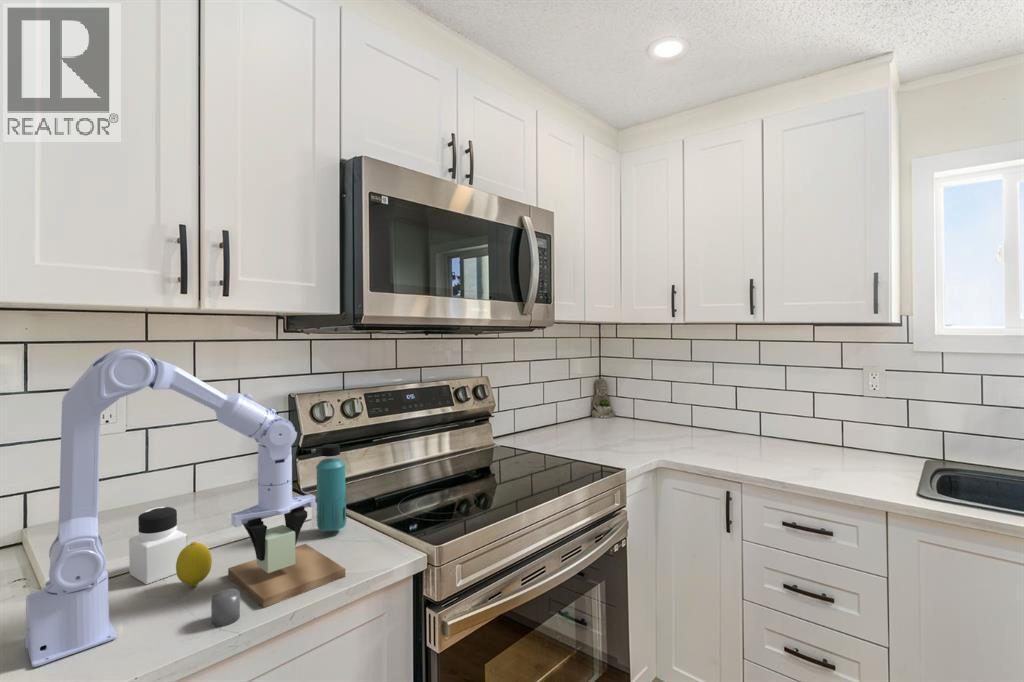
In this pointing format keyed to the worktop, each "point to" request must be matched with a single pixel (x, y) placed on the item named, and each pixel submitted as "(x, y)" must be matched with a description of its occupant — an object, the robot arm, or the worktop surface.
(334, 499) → the beverage bottle
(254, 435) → the robot arm
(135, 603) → the worktop surface
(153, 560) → the medicine bottle
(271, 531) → the sage block
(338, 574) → the walnut board
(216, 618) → the charcoal canister
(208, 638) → the worktop surface
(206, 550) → the lemon
